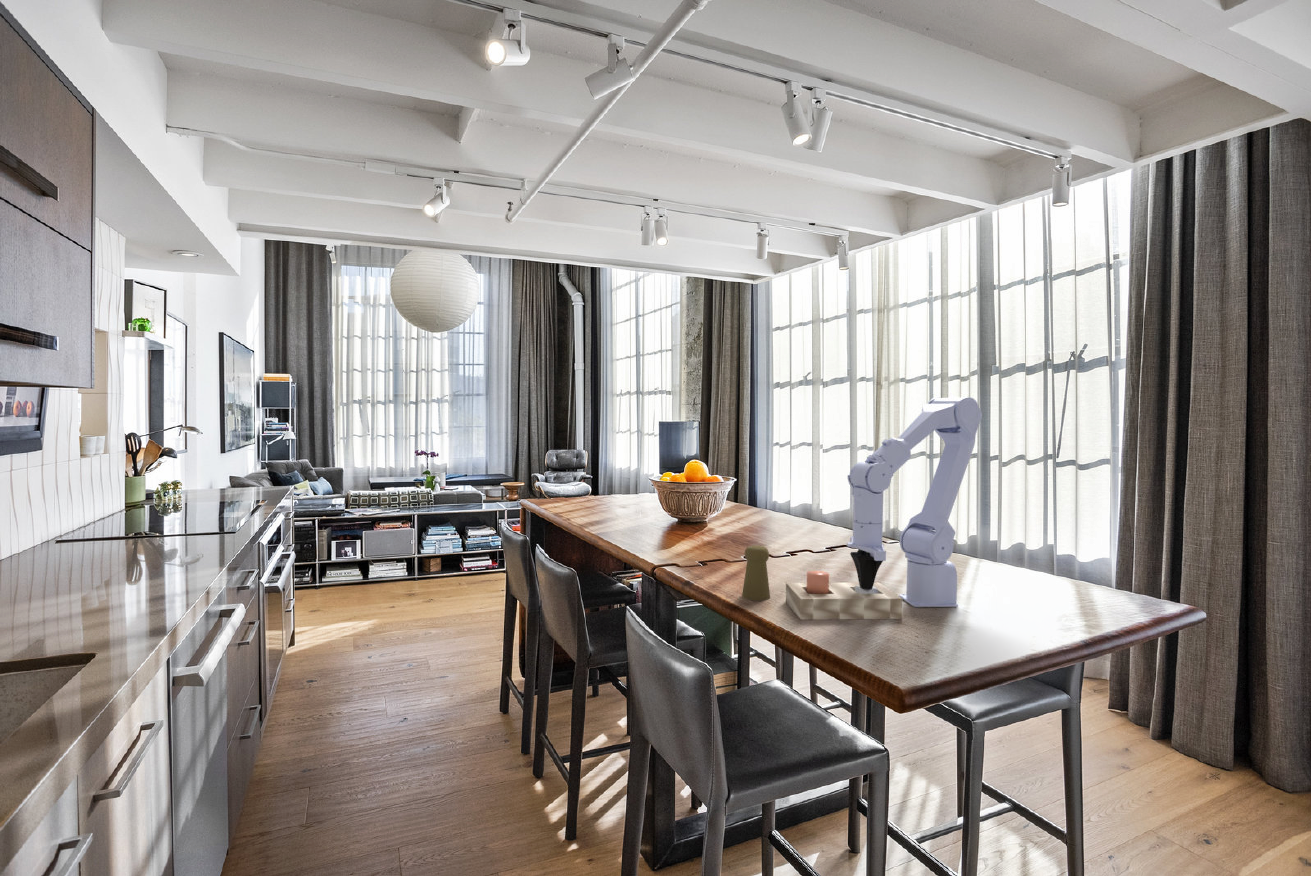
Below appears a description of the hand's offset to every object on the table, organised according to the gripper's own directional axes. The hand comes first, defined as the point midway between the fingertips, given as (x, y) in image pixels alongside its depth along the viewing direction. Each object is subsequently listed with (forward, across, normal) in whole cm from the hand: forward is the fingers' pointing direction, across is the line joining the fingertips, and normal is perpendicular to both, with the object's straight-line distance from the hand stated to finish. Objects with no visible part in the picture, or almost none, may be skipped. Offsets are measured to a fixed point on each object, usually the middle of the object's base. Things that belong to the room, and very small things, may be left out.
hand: (866, 588), depth 137 cm
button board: (+4, 0, -5) cm, 7 cm away
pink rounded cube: (+1, 0, -10) cm, 10 cm away
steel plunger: (+4, 0, 0) cm, 4 cm away
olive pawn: (+5, -10, -20) cm, 23 cm away
